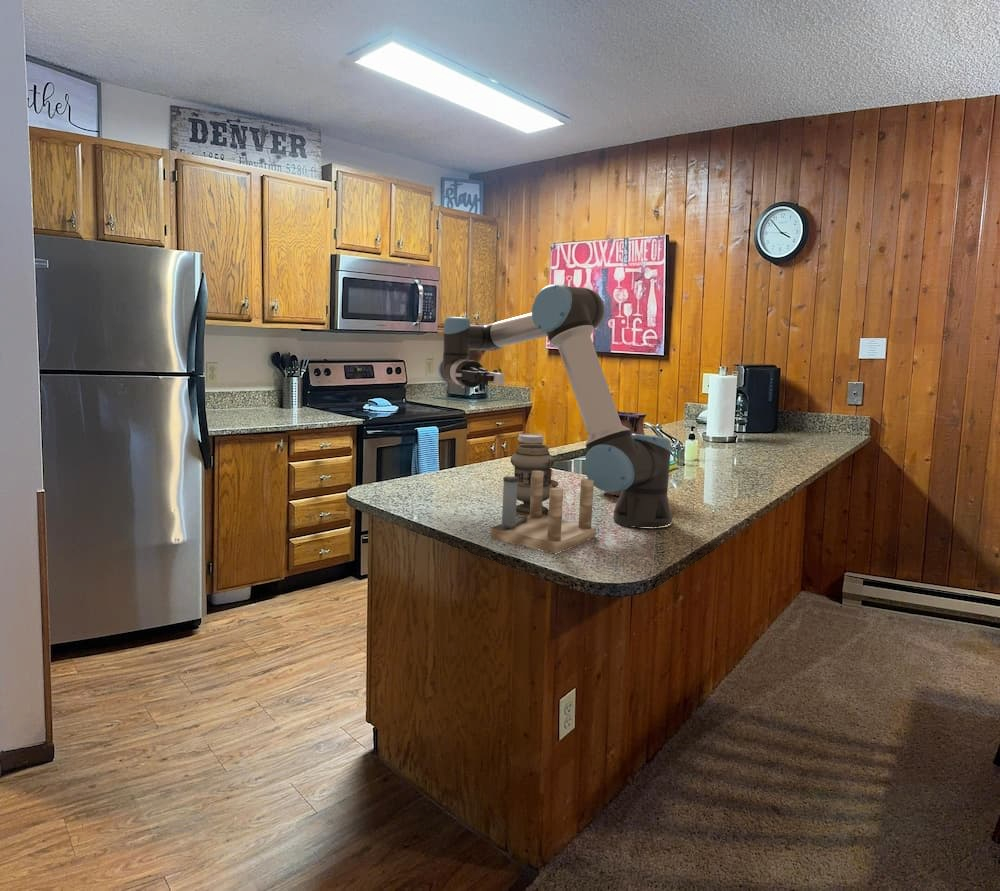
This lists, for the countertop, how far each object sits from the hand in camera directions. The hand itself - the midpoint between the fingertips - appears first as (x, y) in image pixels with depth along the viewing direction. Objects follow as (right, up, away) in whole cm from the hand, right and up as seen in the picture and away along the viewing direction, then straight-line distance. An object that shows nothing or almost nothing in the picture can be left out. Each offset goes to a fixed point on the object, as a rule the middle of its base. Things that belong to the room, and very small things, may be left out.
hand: (501, 379), depth 179 cm
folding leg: (+3, -35, -10) cm, 37 cm away
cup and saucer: (+12, -30, +45) cm, 56 cm away
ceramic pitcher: (+36, -32, +42) cm, 64 cm away
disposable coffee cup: (+10, -25, +77) cm, 81 cm away
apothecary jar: (+8, -35, +15) cm, 38 cm away
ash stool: (+10, -39, -11) cm, 41 cm away
